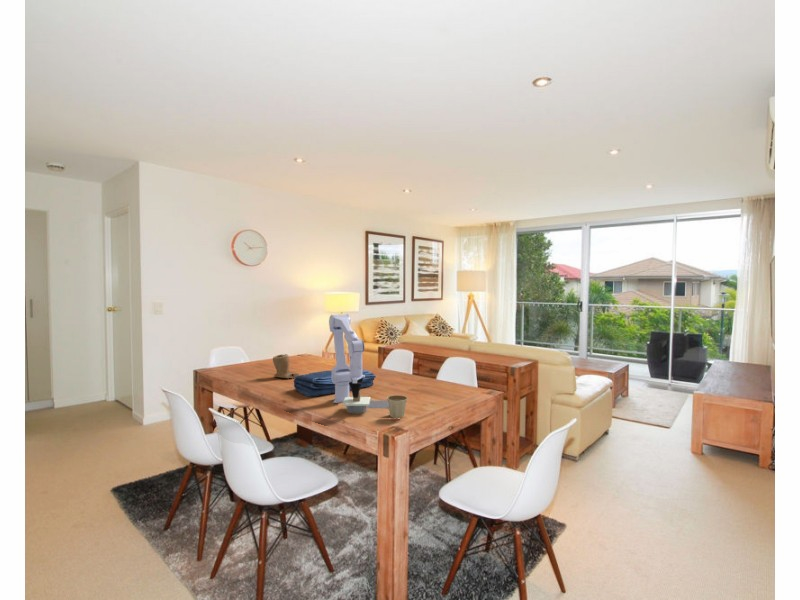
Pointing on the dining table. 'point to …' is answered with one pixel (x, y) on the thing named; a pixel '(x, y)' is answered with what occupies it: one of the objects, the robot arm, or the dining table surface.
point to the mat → (378, 404)
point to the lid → (356, 401)
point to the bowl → (356, 409)
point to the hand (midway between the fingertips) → (356, 395)
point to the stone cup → (283, 367)
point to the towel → (324, 383)
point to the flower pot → (397, 405)
